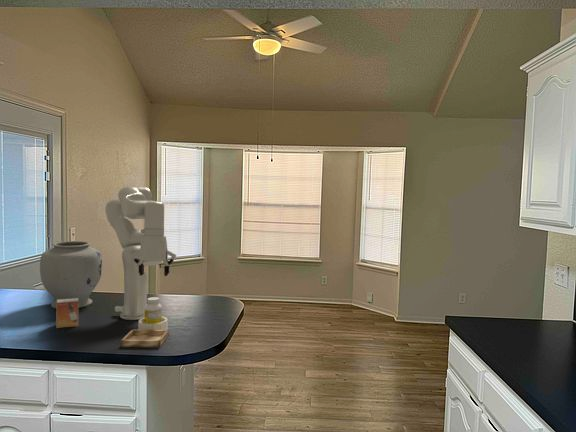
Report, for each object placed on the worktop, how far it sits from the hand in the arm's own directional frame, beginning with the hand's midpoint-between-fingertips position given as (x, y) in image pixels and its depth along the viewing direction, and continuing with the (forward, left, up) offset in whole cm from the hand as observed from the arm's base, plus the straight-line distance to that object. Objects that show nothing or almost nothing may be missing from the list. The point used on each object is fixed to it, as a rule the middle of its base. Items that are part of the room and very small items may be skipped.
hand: (154, 275), depth 168 cm
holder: (0, 0, -22) cm, 22 cm away
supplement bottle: (0, 0, -23) cm, 23 cm away
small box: (-36, +4, -23) cm, 43 cm away
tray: (+1, -13, -22) cm, 26 cm away
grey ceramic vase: (-49, +35, -23) cm, 64 cm away
